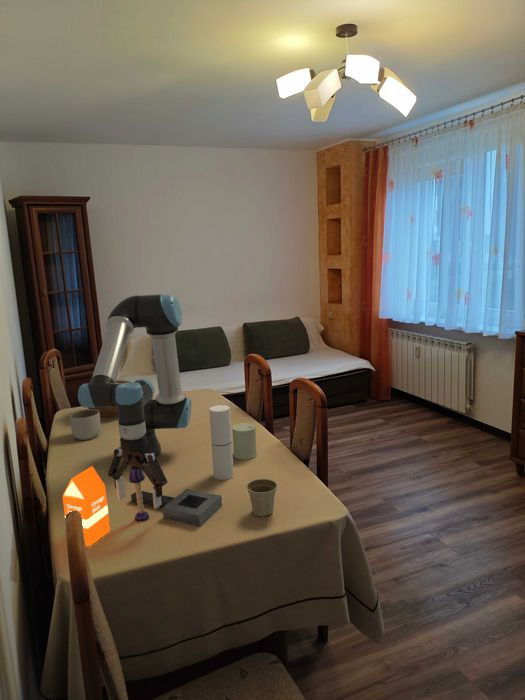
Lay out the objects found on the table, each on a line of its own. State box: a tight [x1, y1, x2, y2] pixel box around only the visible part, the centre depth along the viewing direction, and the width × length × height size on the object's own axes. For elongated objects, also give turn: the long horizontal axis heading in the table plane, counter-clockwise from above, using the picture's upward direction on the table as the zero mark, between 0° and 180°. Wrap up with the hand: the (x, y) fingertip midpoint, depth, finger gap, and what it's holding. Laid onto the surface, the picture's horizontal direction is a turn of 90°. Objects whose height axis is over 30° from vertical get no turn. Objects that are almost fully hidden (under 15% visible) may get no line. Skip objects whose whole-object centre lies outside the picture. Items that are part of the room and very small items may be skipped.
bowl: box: [88, 380, 131, 418], centre depth 251 cm, size 25×25×15 cm
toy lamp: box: [128, 466, 150, 522], centre depth 151 cm, size 5×5×17 cm
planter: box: [69, 408, 102, 441], centre depth 223 cm, size 12×12×11 cm
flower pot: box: [245, 478, 278, 517], centre depth 153 cm, size 9×9×9 cm
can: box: [231, 422, 258, 461], centre depth 196 cm, size 9×9×12 cm
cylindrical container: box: [208, 404, 235, 481], centre depth 177 cm, size 7×7×25 cm
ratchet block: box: [130, 488, 223, 527], centre depth 158 cm, size 29×13×4 cm, turn 65°
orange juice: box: [62, 465, 111, 547], centre depth 141 cm, size 8×9×20 cm
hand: (139, 502), depth 152 cm, fingers open, 13 cm apart
